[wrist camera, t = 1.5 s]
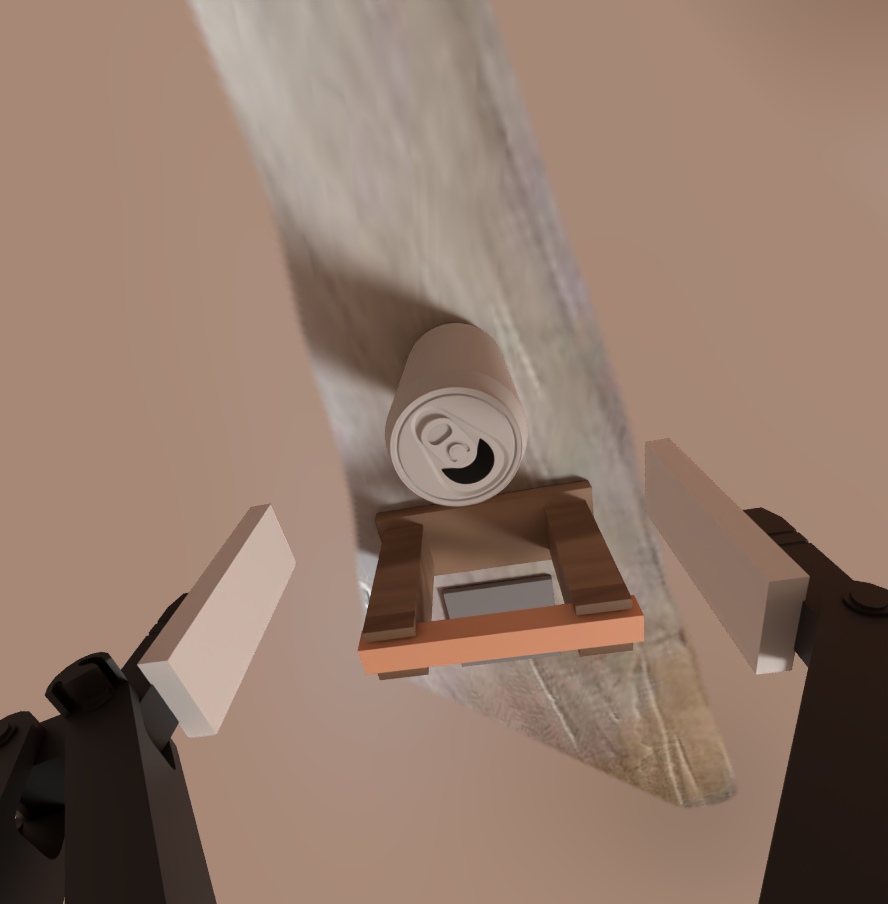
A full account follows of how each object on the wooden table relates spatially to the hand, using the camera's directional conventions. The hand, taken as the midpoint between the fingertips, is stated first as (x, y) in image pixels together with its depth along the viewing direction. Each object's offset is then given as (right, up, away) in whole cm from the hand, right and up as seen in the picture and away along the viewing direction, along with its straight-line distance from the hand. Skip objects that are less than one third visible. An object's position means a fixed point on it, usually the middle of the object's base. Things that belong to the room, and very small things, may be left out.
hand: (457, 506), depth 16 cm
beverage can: (0, +7, +14) cm, 16 cm away
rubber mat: (+5, -13, +24) cm, 28 cm away
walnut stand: (+3, -4, +20) cm, 20 cm away
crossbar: (+3, -8, +11) cm, 14 cm away
